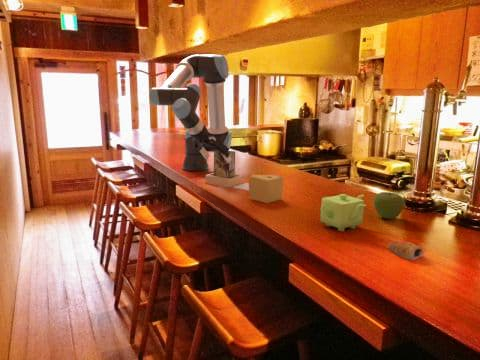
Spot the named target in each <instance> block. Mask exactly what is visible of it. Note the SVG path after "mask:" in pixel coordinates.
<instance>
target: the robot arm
mask: <svg viewBox="0 0 480 360" xmlns="http://www.w3.org/2000/svg"><path fill="white" fill-rule="evenodd" d="M228 63H229V62H228V60H227V58H226V57H225V55H223V54H216V53H215V54H211V53H210V54H192V55H189V56H186V58H184V59H182V60H181V61H180V62H178V64H177V65H176V67H175V70H174V71H173V72H172V73H171V74H170V76H169V77H168V78H167V79H166V80H165V81H164V82H163V83H162V84H161V86H160V87H151V89H150V90H149V93H148V94H149V95H148V96H149V102H150V103H151V105H153V106H154V105H155V106H171V110H172V113H174V115H175V117H176V118H177V119H178V120H179V122H180V123H181V124H182V126H183V127H184V129H186V131H185V136H184V139H185V142H184V143H185V144H184V145H185V146H184V147H185V148H184V149H185V155H184V159H183V163H182V166H181V167H182V170H184V171H188V172H202V171H207V170H208V169H209V163H208V160H209V157H210V154H209V153H214V151H217V150H218V151H219V152H221V153H222V156H223V157H224V159H225V160H226V161H227V163H229V162H230V161H231V157H230V156H229V154H228V151H230V148H231V144H232V138H233V137H232V132H230V131H229V128H228V126H226V116H225V115H226V114H225V100H224V99H225V97H224V83H225V82H226V79H228V78H229V73H230V72H229V64H228ZM195 78H196V79H197V78H199V79H202V80H203V83H204V84H205V85H206V90H207V91H206V92H207V93H206V95H207V105H208V106H207V107H208V115H209V116H208V117H209V127H208V128H207V126H205V124H204V122H203V121H202V120H201V118H200V117H199V115H198V113H197V112H196V111H197V109H198V106H199V103H200V102H199V101H200V100H201V95H202V90H201V87H200V86H199V85H197V84H196V83H187V82H188V81H190V80H191V79H195ZM186 83H187V84H186ZM183 87H184V88H183Z"/></svg>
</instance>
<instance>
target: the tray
mask: <svg viewBox="0 0 480 360" xmlns="http://www.w3.org/2000/svg"><path fill="white" fill-rule="evenodd" d="M204 180H205V181H204V182H205V184H211V185H214V186H219V187H224V188H231V187H232V188H233V187H234V186H238V185H241V184H244V175H242V174H237V173H235V177H234V178H230V179H227V178H222V177H216V176H214V172H212V173H209V174H205V179H204Z"/></svg>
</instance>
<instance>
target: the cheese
mask: <svg viewBox="0 0 480 360" xmlns="http://www.w3.org/2000/svg"><path fill="white" fill-rule="evenodd" d="M283 181H284V178H283V177H282V176H279V175H276V174H275V175H274V174H268V175H267V174H266V175H265V174H255V175H254V174H253V175H250V176H249V178H248V183H249V191H248V193H249V200H253V201H256V202H261V203H263V204H271V203H273V202H277V201H281V200H282V197H283V187H284V184H283Z"/></svg>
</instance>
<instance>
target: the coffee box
mask: <svg viewBox="0 0 480 360" xmlns="http://www.w3.org/2000/svg"><path fill="white" fill-rule="evenodd" d="M228 154H229V156H230V157H231V161H230V162H229V163H227V161H226V160H225V159H224V157H223V156H222V153H221V152H219V151H218V150H217V151H214V152H213V173H214V176H216V177H222V178H227V179H230V178H234V177H235V174H236V151H234V150H229V151H228Z"/></svg>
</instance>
